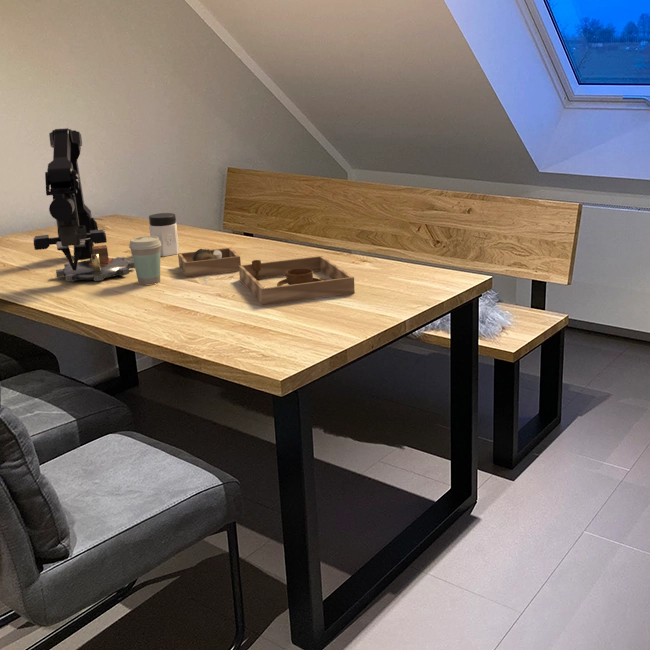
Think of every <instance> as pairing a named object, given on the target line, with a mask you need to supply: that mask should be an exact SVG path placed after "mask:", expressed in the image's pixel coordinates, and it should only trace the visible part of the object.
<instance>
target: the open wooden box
mask: <svg viewBox="0 0 650 650" xmlns="http://www.w3.org/2000/svg"><path fill="white" fill-rule="evenodd" d="M209 250H210V252H211V254H213V252H214V250H219V251H220V252H221V253H222V258H218V259H210V260H201V261H193V259H192V258H193V255H194V253H195V252H196V251H189V252H178V254H177V255H178V258H177V259H178V267H179V269H180V271H181V272H182V273H183V275H184V276H185V277H186V278H188V277H198V276H206V274H207V275H215V273H216V274H221V273H231V272H239V266H240V265H242V263H241V256H240V255H239V254H238V253H237V251H235V250H234V249H233V248H232V247H226V248H225V247H224V248H216V249H209Z"/></svg>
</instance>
